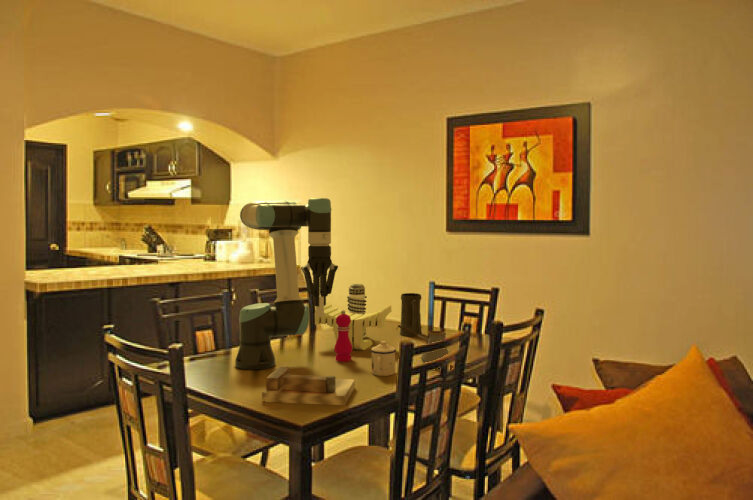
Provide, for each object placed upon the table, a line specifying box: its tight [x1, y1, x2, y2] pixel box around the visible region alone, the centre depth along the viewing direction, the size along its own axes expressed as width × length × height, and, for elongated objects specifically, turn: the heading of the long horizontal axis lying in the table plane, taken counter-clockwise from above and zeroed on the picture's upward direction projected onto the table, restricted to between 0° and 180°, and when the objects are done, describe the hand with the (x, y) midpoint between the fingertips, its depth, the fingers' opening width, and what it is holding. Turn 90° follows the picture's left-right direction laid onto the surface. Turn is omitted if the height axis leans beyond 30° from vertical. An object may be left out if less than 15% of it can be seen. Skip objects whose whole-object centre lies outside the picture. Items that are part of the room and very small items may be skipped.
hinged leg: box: [283, 373, 336, 393], centre depth 185 cm, size 16×4×4 cm, turn 78°
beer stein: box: [399, 292, 423, 337], centre depth 285 cm, size 15×11×20 cm
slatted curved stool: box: [314, 302, 392, 351], centre depth 260 cm, size 30×16×18 cm, turn 74°
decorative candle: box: [346, 283, 368, 339], centre depth 281 cm, size 9×9×25 cm
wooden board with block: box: [261, 366, 356, 406], centre depth 191 cm, size 26×18×7 cm
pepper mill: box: [334, 309, 353, 363], centre depth 237 cm, size 7×7×20 cm
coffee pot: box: [396, 324, 450, 364], centre depth 230 cm, size 21×12×15 cm, turn 75°
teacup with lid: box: [370, 340, 397, 377], centre depth 216 cm, size 12×9×12 cm
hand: (319, 315), depth 197 cm, fingers closed
